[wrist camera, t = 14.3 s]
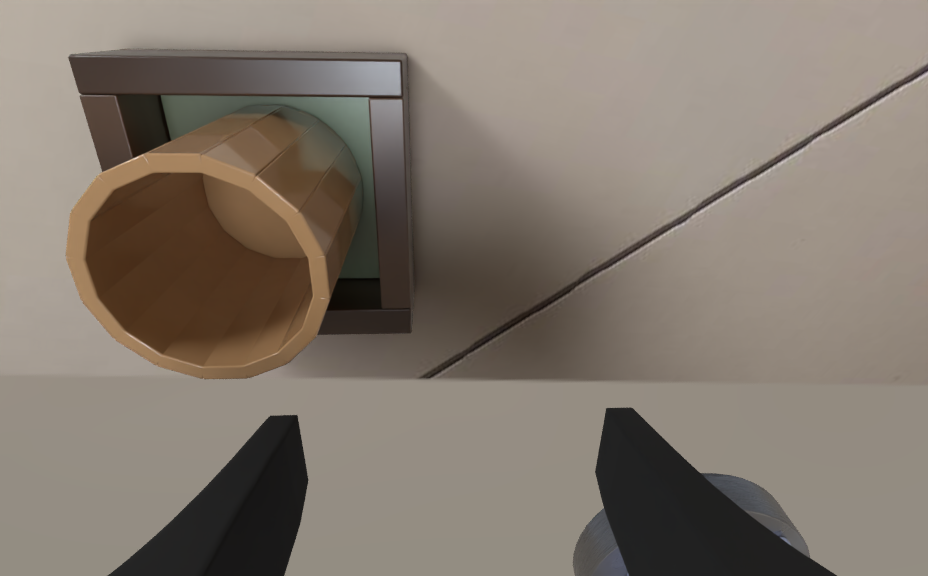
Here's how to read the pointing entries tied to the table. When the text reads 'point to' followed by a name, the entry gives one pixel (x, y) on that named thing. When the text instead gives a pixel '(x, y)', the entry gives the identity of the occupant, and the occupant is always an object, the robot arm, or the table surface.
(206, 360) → the paper cup
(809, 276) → the table surface
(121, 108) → the cup holder
